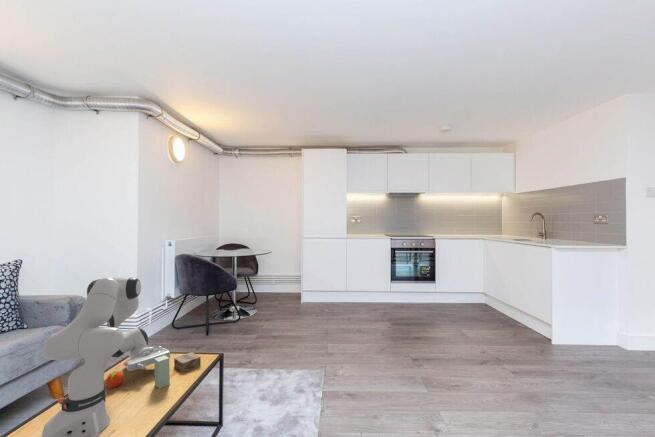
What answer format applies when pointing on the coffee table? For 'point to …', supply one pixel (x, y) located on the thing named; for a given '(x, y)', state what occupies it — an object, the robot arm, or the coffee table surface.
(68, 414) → the robot arm
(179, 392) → the coffee table surface
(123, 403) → the coffee table surface
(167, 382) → the sage block
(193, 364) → the walnut block
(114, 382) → the red tomato
